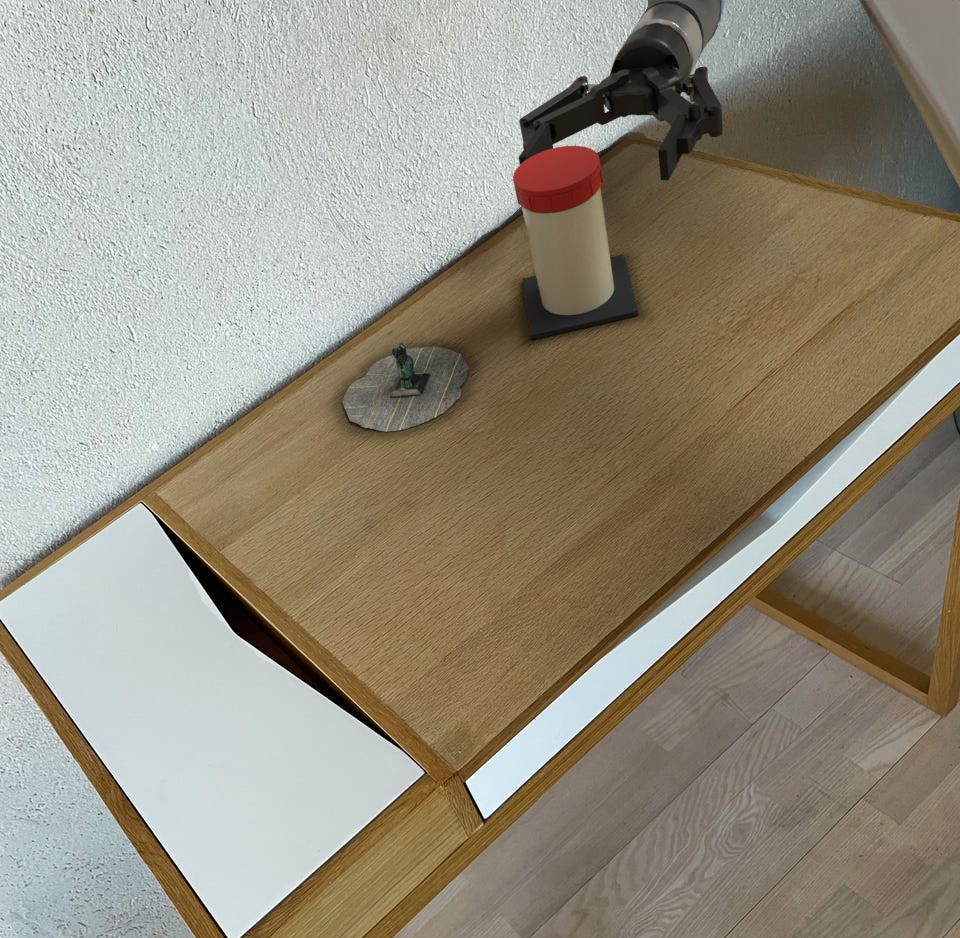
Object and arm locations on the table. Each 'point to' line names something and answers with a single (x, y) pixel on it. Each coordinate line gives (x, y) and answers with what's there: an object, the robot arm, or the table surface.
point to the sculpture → (406, 388)
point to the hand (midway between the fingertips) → (591, 168)
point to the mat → (611, 310)
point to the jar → (571, 256)
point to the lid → (557, 178)
